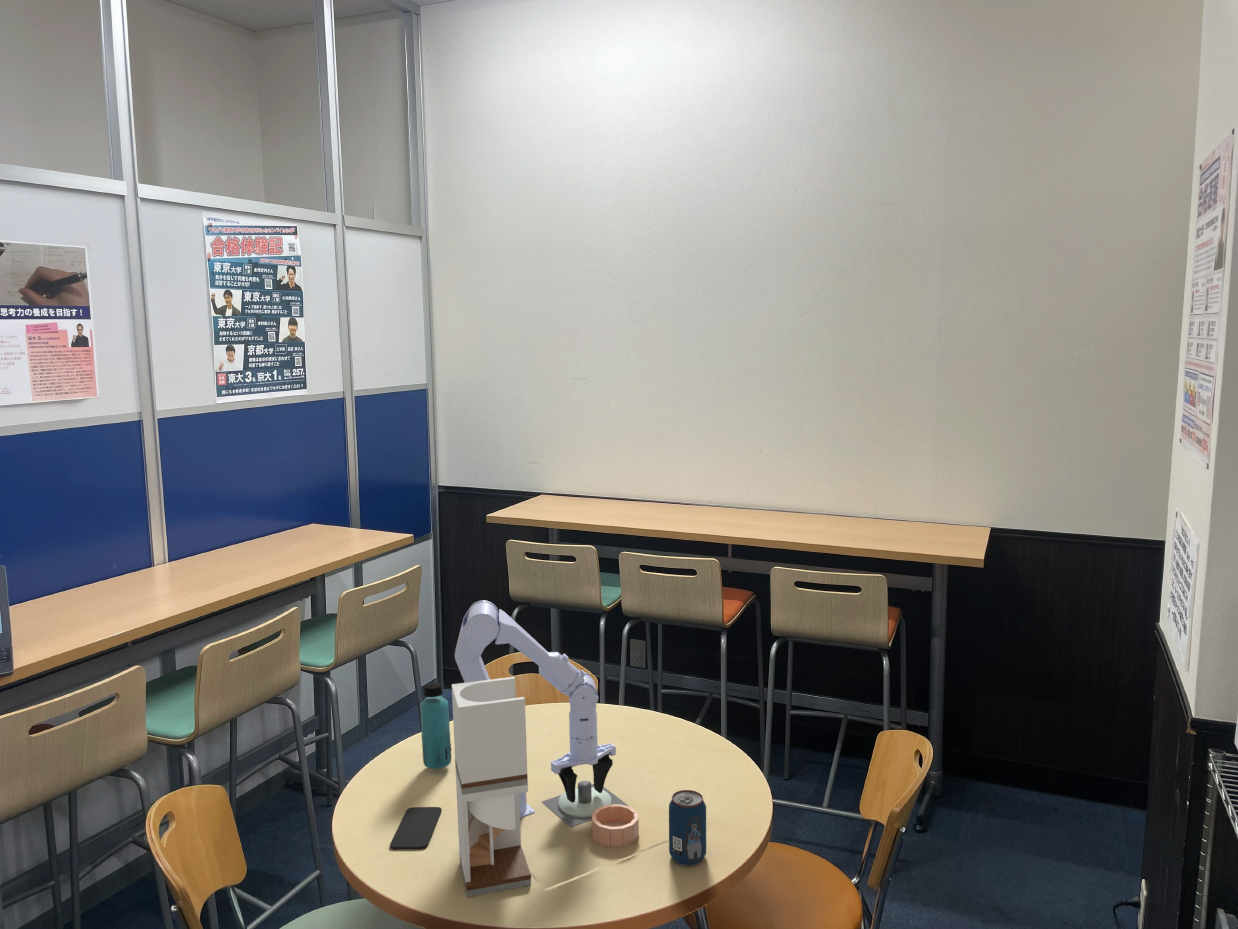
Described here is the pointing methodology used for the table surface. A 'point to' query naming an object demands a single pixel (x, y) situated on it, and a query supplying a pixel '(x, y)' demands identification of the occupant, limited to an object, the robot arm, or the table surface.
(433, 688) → the beverage bottle
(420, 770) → the table surface
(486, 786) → the coffee maker
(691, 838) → the soda can
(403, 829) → the phone
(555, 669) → the robot arm
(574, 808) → the lid
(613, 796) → the mat
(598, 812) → the bowl
